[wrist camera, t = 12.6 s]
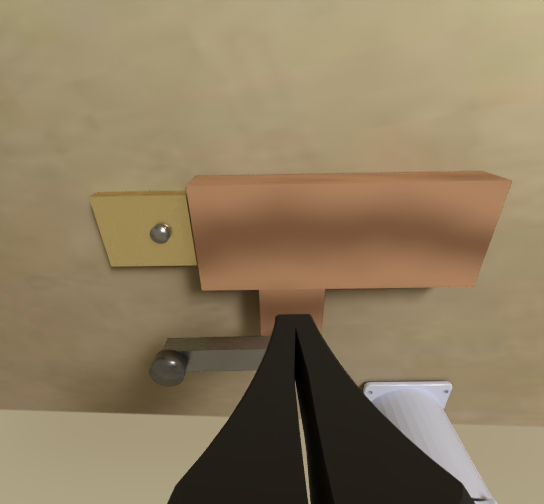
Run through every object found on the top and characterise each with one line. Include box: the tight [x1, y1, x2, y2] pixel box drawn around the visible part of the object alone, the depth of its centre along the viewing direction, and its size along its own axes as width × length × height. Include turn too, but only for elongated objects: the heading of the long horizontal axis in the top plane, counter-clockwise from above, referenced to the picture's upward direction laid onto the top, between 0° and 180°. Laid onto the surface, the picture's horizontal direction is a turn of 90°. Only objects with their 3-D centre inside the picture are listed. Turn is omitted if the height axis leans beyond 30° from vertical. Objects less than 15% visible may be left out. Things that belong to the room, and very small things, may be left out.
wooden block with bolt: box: [89, 191, 198, 267], centre depth 19 cm, size 5×6×2 cm
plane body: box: [186, 171, 512, 336], centre depth 19 cm, size 12×18×4 cm, turn 91°
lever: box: [149, 336, 271, 386], centre depth 18 cm, size 10×2×2 cm, turn 92°
